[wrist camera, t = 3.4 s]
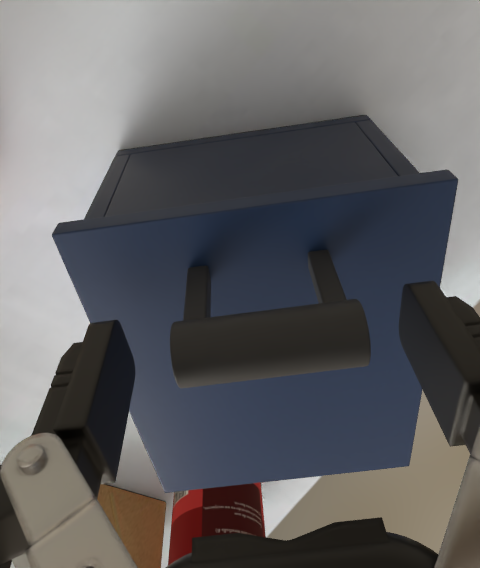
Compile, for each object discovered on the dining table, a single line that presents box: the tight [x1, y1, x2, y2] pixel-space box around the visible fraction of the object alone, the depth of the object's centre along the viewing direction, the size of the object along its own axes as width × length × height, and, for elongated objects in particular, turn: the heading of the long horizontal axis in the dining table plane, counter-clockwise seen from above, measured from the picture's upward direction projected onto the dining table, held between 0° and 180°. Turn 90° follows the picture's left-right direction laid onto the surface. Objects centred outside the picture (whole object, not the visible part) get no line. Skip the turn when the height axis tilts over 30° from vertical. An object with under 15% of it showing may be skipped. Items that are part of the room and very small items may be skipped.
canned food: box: [168, 482, 265, 566], centre depth 36 cm, size 8×8×11 cm
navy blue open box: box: [84, 115, 419, 220], centre depth 23 cm, size 15×13×9 cm
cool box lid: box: [52, 170, 458, 493], centre depth 17 cm, size 16×13×5 cm
